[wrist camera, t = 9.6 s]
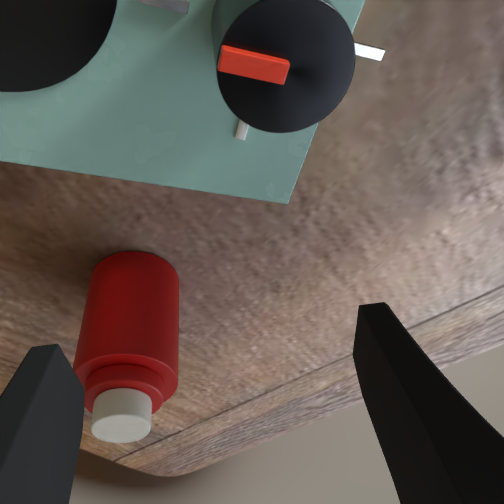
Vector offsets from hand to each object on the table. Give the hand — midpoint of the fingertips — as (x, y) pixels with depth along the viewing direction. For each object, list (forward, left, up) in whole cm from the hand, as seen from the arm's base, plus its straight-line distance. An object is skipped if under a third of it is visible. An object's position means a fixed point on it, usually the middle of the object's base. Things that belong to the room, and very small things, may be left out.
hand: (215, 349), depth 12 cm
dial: (-1, -5, -8) cm, 10 cm away
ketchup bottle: (+2, +9, -10) cm, 14 cm away
